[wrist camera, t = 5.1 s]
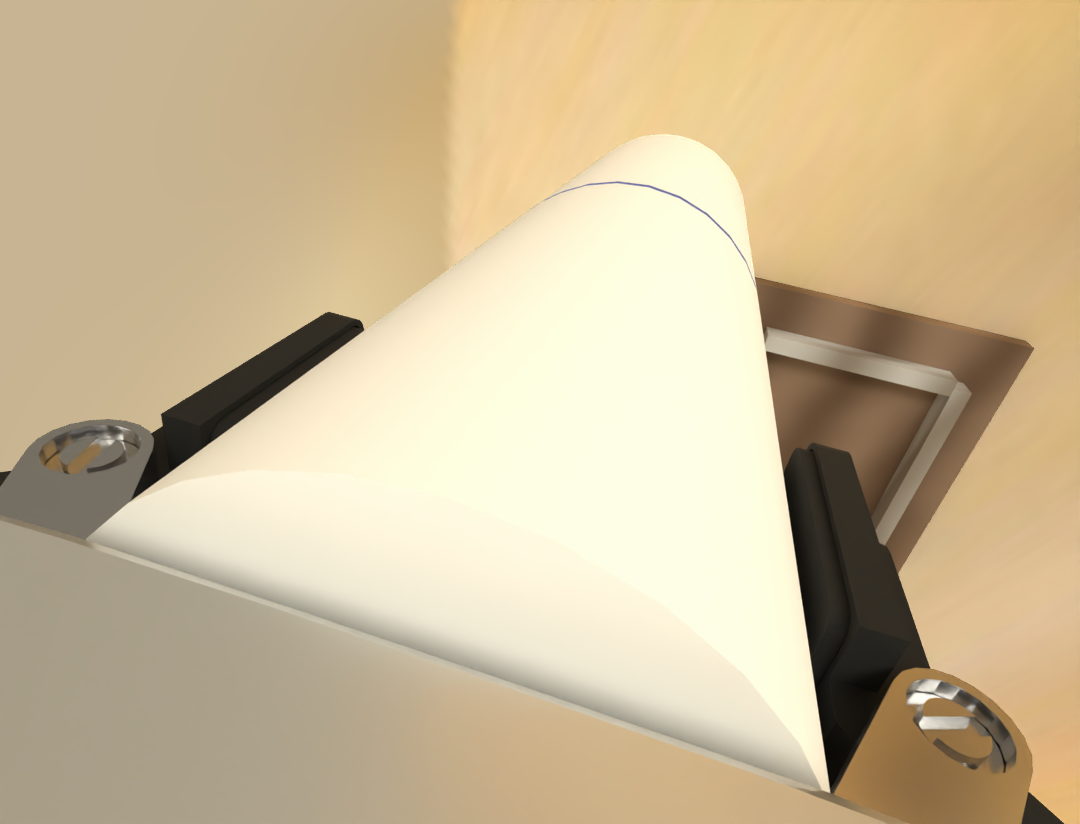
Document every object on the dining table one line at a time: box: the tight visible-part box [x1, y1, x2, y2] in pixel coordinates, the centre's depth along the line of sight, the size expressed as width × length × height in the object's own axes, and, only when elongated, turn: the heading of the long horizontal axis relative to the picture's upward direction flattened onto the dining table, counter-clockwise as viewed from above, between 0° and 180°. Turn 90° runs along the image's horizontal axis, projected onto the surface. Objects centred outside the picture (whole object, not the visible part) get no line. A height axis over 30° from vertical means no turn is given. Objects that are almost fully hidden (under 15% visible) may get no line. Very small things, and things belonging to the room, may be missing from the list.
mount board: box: [755, 277, 1034, 573], centre depth 42 cm, size 18×18×3 cm
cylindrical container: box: [86, 134, 830, 793], centre depth 17 cm, size 7×7×25 cm
